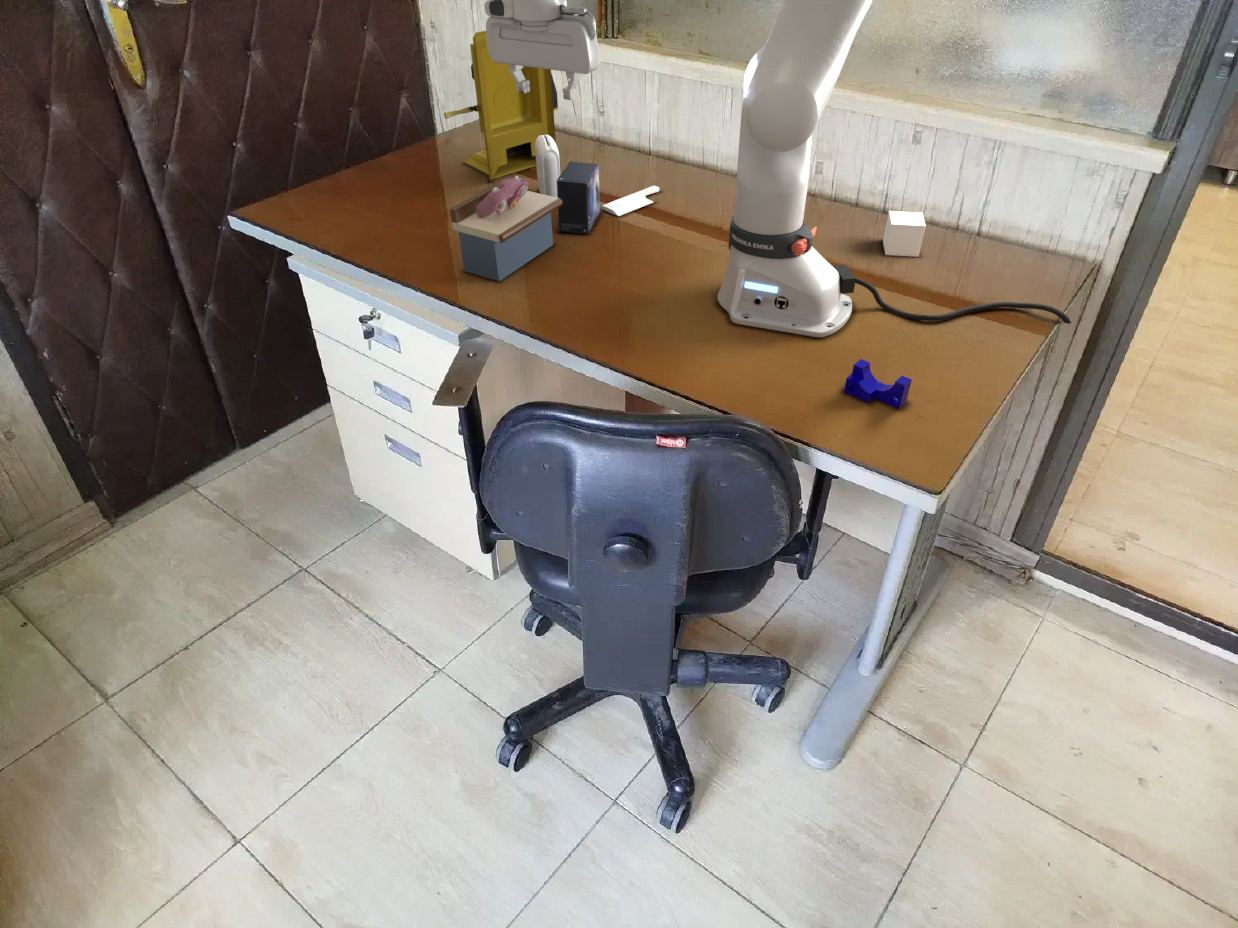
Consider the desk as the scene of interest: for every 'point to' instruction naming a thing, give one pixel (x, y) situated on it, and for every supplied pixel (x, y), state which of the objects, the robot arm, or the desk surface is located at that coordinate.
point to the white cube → (904, 233)
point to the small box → (578, 197)
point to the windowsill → (503, 233)
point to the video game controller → (502, 197)
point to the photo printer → (547, 165)
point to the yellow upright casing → (508, 112)
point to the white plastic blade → (630, 202)
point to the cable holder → (876, 386)
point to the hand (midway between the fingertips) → (546, 95)
